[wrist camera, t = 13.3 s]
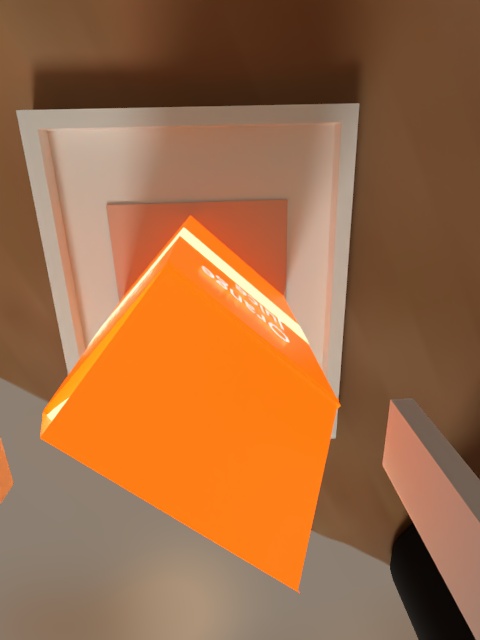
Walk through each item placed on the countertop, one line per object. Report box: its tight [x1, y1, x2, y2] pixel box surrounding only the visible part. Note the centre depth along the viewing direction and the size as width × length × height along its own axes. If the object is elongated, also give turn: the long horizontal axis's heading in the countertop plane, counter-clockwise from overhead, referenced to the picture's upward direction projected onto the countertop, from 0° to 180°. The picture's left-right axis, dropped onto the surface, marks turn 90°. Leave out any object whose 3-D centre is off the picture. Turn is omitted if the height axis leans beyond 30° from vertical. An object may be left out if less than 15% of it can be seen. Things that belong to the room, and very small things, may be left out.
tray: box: [16, 103, 359, 439], centre depth 29 cm, size 24×20×2 cm
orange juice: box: [40, 215, 341, 592], centre depth 20 cm, size 8×9×20 cm
